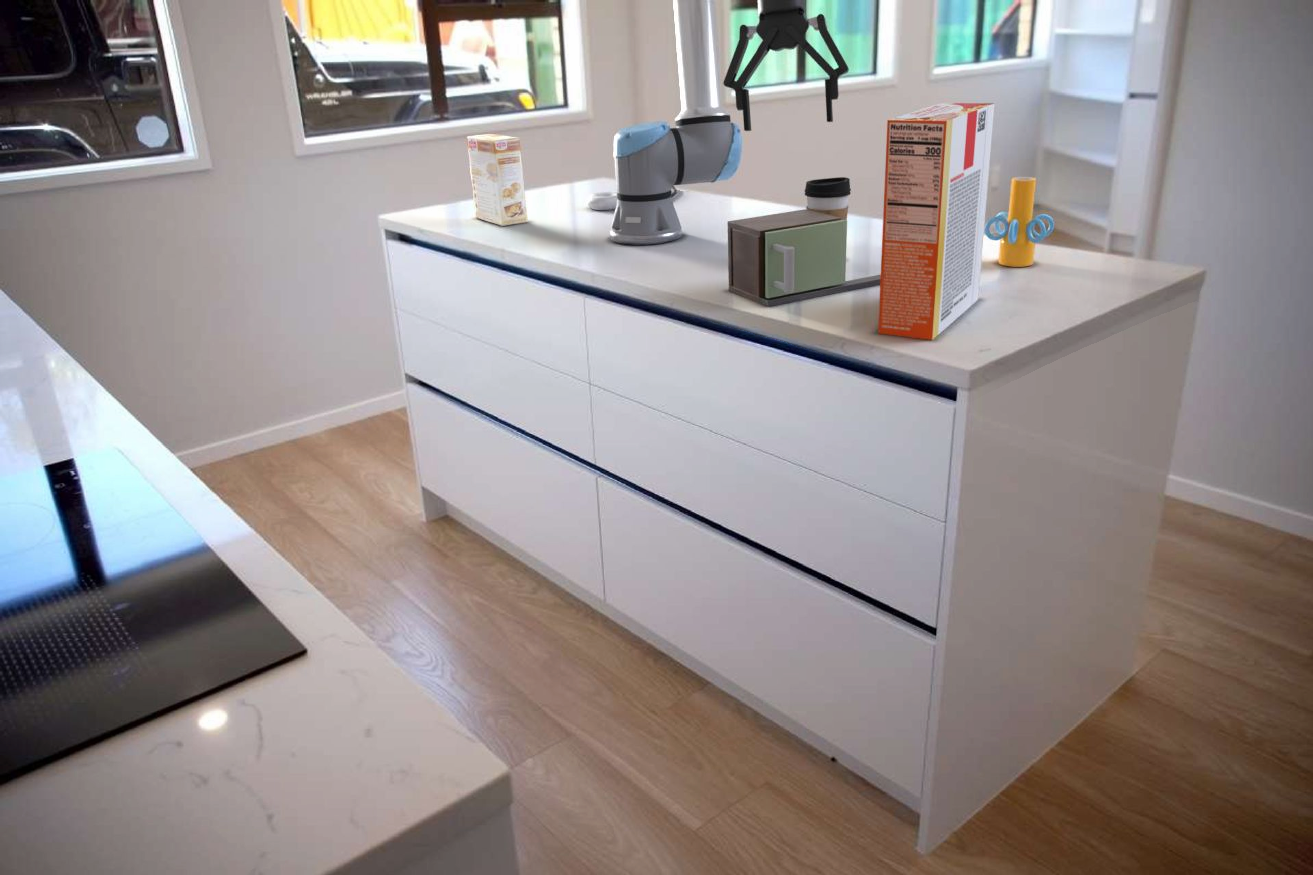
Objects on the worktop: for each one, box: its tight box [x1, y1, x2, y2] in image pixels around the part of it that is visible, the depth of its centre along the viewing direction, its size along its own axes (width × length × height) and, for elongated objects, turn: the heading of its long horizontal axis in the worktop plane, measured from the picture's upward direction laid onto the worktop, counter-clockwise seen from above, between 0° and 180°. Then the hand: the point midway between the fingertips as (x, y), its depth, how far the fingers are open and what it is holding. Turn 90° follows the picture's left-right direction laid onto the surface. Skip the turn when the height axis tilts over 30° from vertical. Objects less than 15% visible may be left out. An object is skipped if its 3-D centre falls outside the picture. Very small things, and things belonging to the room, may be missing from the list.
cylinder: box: [984, 176, 1055, 268], centre depth 177 cm, size 12×10×15 cm
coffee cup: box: [804, 176, 852, 221], centre depth 186 cm, size 8×8×15 cm
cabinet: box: [727, 208, 881, 308], centre depth 170 cm, size 12×27×12 cm, turn 118°
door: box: [765, 219, 848, 298], centre depth 161 cm, size 6×16×11 cm, turn 118°
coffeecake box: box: [466, 133, 529, 227], centre depth 237 cm, size 15×7×20 cm, turn 34°
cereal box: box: [877, 102, 995, 341], centre depth 147 cm, size 23×8×30 cm, turn 148°
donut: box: [586, 191, 617, 211], centre depth 249 cm, size 10×4×10 cm
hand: (788, 126), depth 165 cm, fingers open, 13 cm apart
